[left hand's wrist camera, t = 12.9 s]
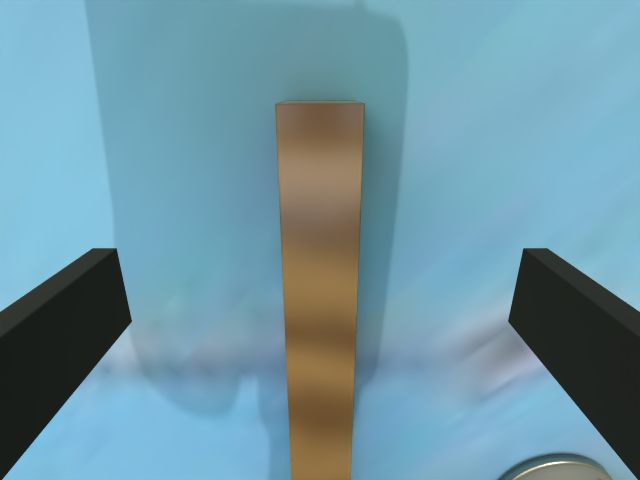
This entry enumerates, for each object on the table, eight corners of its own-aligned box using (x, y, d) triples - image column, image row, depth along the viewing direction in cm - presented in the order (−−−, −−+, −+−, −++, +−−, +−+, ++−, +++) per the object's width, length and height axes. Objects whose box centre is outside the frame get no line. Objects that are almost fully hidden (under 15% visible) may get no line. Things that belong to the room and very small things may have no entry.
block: (285, 101, 32) (275, 103, 25) (354, 100, 32) (364, 103, 25) (302, 613, 59) (300, 684, 52) (340, 613, 59) (342, 684, 52)
